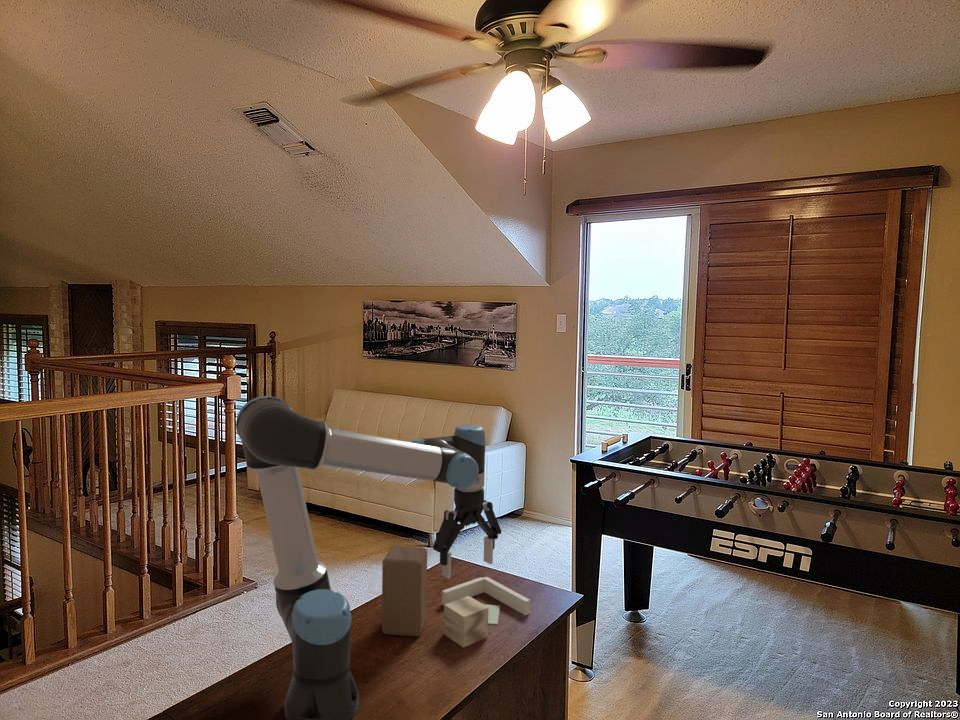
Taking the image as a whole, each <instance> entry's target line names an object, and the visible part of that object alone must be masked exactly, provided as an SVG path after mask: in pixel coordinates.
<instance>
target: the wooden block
mask: <svg viewBox="0 0 960 720" xmlns="http://www.w3.org/2000/svg"><path fill="white" fill-rule="evenodd" d="M381 566H382V571H381V572H382V576H381V577H382V578H381V579H382V581H381V631H382V634H384V635H390V636H391V635H392V636H403V637H405V636H406V637H419V636H420V634H421V632H422V630H423V627H424V625H425V622H426V619H427V593H428V590H427V589H428V586H427V584H428V550H427V548H424V547H412V546H409V547H408V546H395V545H394V546H391V547H390V548H389V550H388V552H387V553H386V555H385V556H384V557H383V560H382V564H381Z"/></svg>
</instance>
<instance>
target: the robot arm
mask: <svg viewBox="0 0 960 720" xmlns="http://www.w3.org/2000/svg"><path fill="white" fill-rule="evenodd" d="M235 428H236V433H237V435H238V437H239V439H241V445H242V450H243V453H244V457H245V462H246V466H247V469H249V470H251V471H253V472H255V473H256V477H257V480H258V485H259V490H260V495H261V498H262V503H263V507H264V511H265V515H266V517H265V518H266V520H267V524H268V530H269V534H270V538H271V539H270V540H271V542H272V543H271V544H272V548H273V552H274V557H275V561H276V566H277V570H278V572H277V574H276V575H275V576H274V578H273V585H274V591H275V606H276V610H277V612H278V614H279V616H280V618H281V619H282V621H283V624H284V627H285V629H286V631H287V633H288V636H289V638H290V640H291V644H292V678H291V681H290V684H289V687H288V690H287V693H286V695H285V696H286V697H285V699H284V717H285V719H286V720H351V719H352V718H353V717H354V716H355V715H356V713H357V711H358V709H359V704H360V703H359V702H360V701H359V690H358V688H357V685H356V682H355V679H354V676H353V673H352V671H351V670H352V669H351V624H352V613H351V607H350V602H349V600H348V599H347V598H346V597H345V596H344V595H343V594H342V593H340V592H338V591H337V592H335V591H334V590H332V587H331V583H330V579H329V574H328V569H327V565H326V564H325V563H324V562H322V561H320V560H318V556H317V552H316V551H317V550H316V545H315V541H314V536H313V532H312V527H311V523H310V522H311V521H310V518H309V513H308V508H307V503H306V499H305V494H304V490H303V484H302V480H301V475H300V469H299V468H302V469H308V470H317V469H318V468H319V467H321V466H325V467H332V468H333V467H334V468H341V469H346V470H354V471H361V472H369V473H374V474H382V475H390V476H396V477H402V478H403V477H404V478H409V479H418V480H425V481H431V482H437V483H443V484H447V485H449V486H451V487H452V488H454V489H453V503H454V505H455V507H454V510H447V509H446V510H444V513H443V520H442V522H441V524H440V527H439V530H438V532H437V535H436V538H435V541H434V543H433V546H432V549H433V550H434V551H436V552H438V553H439V563H440V565H441V576H442V577H445V578H446V579H448V580H449V579H452V552H451V551H450V550H451V548H452V546H453V545H454V543H455V541H456V539H457V538H458V536H459V534H460V533H461V531H462V530H464V528H465V527H469V526H470V525H475V524H477V525H478V526H479V527H480V528H481V529H482V531H483V532H484V533H485V535H486V536H485V535H484V536H483V562H485V563H487V564H489V565H492V564H494V560H493V559H494V550H495V546H496V545H495V544H496V543H495V542H496V540H497V539H498V538H499V535H501V533H502V529H501V527H500V525H499V522H498V519H497V517H496V514H495V512H494V508H493V507H494V506H493V502H490V501H489V500H487V499H485V489H484V487H485V473H486V471H485V468H486V465H485V464H486V446H487V444H486V432H485V429H484V428H483V427H482V426H480V425H476V424H461V425H458V426H456V427H455V430H454V434H453V435H449V436H438V437H427V438H425V437H422V438H419V439H413V440H411V441H406V440H400V439H393V438H388V437H383V436H377V435H371V434H366V433H365V434H364V433H360V432H353V431H349V430H343V429H342V430H341V429H336V428H331V427H328V424H327V423H326V422H325V421H321V420H315V419H312V418H309V417H306V416H305V415H304V416H303V415H302V414H300V413H297V412H296V411H295V410H293V409H292V408H291V407H290V406H289V404H288V403H286V402H285V401H284V400H282V399H280V398H278V397H274V396H268V395H266V396H265V395H264V396H258V397H255V398H252V399H251V400H248V401H247V402H246V403H245V404H244V405H243V406H241V409H240V410H239V412H238V414H237V418H236V422H235ZM482 513H484V515H485V518H486V519H487V520H486V519H485V518H484V516H483V515H482ZM487 522H488V523H487Z"/></svg>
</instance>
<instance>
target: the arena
mask: <svg viewBox="0 0 960 720" xmlns="http://www.w3.org/2000/svg"><path fill="white" fill-rule="evenodd" d="M483 593H485V594H487V595H488V596H490V597H492V598H494V599H496V600H497V601H499V602H501V603H502V604H504V605H506V606H508V607H510V608H512V609H513V610H515V612H518V613H520V614H522V615H524V616H526V617H527V615H530V614H531V613H530V610H531V599H530V598H528V597H526V596H524V595H522V594H520V593H518V592H516V591H514V590H512V589H511V588H509V587H507V586H505V585H503V584H502V583H499V582H497V581H496V580H494V579H493V578H491V577H489V576H484V577H482V576H481V577H477V578H474V579H472V580H469V581H465V582H464V583H460V584H457V585H454V586H451V587H449V588H446V589H443V590H442V591H441V605H442V606H444V605H445V604H447V603H450V602H453V601H456V600H458V599H461V598H464V597H466V596H470V597H472V598H474V596H478V595H480V594H483ZM484 605H485V606H487V607H489V612H488V625H494V626H495V625H496V626H498V625H499V617H500V607H501V605H498V604H497V605H496V604H484Z"/></svg>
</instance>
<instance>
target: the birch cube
mask: <svg viewBox="0 0 960 720" xmlns="http://www.w3.org/2000/svg"><path fill="white" fill-rule="evenodd" d="M485 605H486V604H483V603H482V602H480V601H479V600H477V599H475V598H474V597H470V596H466V597H464V598H461V599H458V600H456V601H453V602H450V603H447V604H445V605H443V609H444V610H443V635H444V636H446V637H447V638H448V639H450V640H451V641H453V642H455V643H456V644H457V645H459V646H460V647H462V648H465V647H468V646H471V645H473V644H475V643H477V642H480V641H483V640H484V639H487V638H488V637H489V624H488V612H489V607H487V606H485Z"/></svg>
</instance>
